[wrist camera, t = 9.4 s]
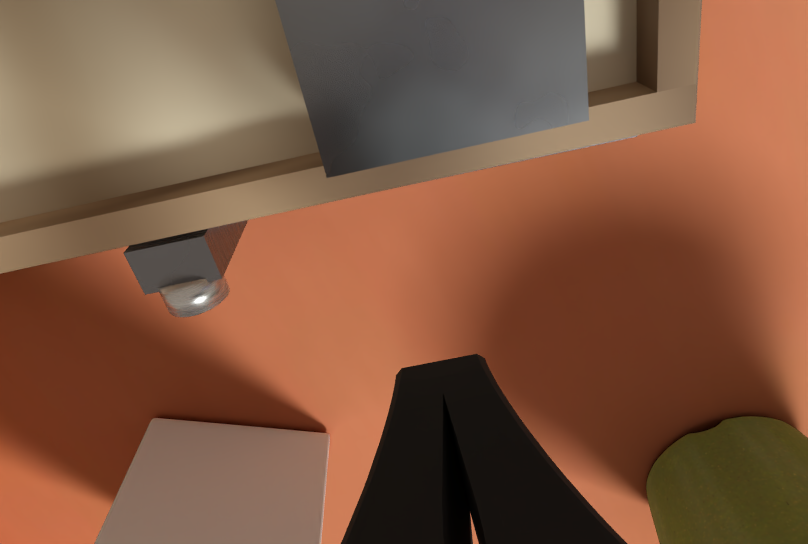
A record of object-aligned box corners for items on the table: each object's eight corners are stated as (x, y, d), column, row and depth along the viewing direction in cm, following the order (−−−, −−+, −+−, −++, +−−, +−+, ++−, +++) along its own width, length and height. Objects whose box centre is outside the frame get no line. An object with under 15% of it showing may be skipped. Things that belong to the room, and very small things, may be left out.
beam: (654, -360, 10) (725, -431, 8) (649, 105, 14) (695, 132, 12) (-600, -33, 11) (-803, -27, 9) (-270, 307, 15) (-363, 360, 13)
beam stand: (628, -445, 12) (791, -691, 7) (630, 140, 18) (718, 209, 14) (-490, -139, 13) (-938, -180, 9) (-129, 302, 20) (-282, 412, 15)
